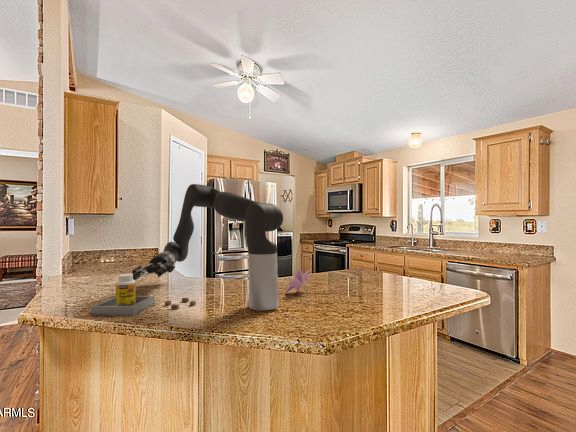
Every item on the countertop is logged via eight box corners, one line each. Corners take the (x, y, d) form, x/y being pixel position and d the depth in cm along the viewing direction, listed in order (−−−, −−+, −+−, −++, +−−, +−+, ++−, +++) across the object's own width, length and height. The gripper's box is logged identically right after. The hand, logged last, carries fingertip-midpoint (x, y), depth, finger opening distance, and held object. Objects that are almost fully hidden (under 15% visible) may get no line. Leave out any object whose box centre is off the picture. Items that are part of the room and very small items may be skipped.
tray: (154, 303, 104) (154, 296, 104) (133, 315, 91) (133, 306, 91) (117, 303, 104) (117, 296, 104) (91, 315, 91) (91, 306, 91)
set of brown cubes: (199, 301, 106) (199, 297, 106) (189, 309, 97) (189, 305, 97) (172, 301, 107) (172, 297, 107) (159, 309, 97) (159, 305, 97)
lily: (315, 292, 121) (304, 270, 124) (324, 286, 111) (312, 262, 113) (288, 305, 117) (278, 282, 120) (295, 300, 106) (284, 275, 109)
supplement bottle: (116, 310, 94) (116, 277, 94) (115, 306, 99) (115, 274, 99) (136, 307, 97) (136, 275, 97) (134, 303, 102) (134, 272, 102)
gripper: (143, 255, 124) (123, 268, 108) (178, 251, 124) (164, 263, 108) (147, 273, 125) (128, 288, 109) (182, 268, 125) (168, 283, 109)
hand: (146, 275), depth 108 cm, fingers open, 8 cm apart
